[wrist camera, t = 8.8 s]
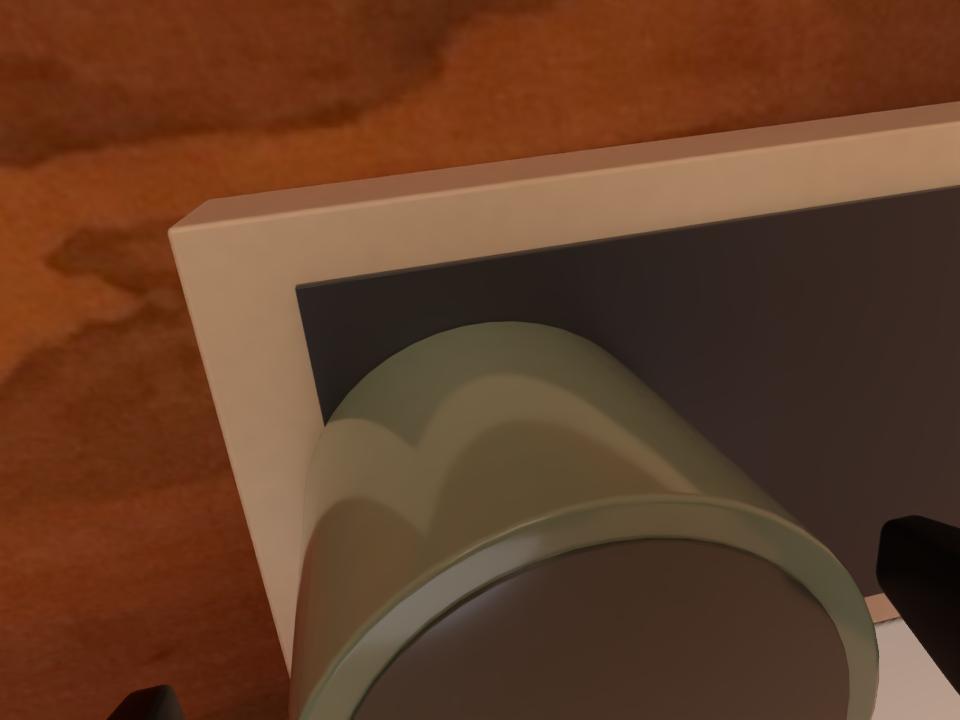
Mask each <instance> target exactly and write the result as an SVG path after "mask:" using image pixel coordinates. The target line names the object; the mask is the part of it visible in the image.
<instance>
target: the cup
mask: <svg viewBox="0 0 960 720" xmlns="http://www.w3.org/2000/svg"><path fill="white" fill-rule="evenodd" d="M878 682H879V650H878V644H877V639H876V633H875V627H874V623H873V620H872V618H871V615H870V612H869V610H868V607H867V604H866V602H865V599H864V596H863V594H862V592H861V590H860V589H859V587H858V585H857V584H856V582H855V580H854V579H853V577H852V576H851V574H850V572H849V571H848V569H847V568H846V567H845V566H844V564H843V563H842V562H841V561H840V560H839V559H838V558H837V557H836V556H835V554H834V553H833V552H832V551H831V550H830V549H829V548H828V547H827V546H826V545H825V544H824V543H823V542H822V541H821V540H820V539H818V538H817V537H816V536H815V535H814V534H813V533H812V532H811V531H809V530H808V529H807V528H806V527H805V526H804V525H803V524H802V523H801V522H799V521H798V520H797V519H796V518H795V517H794V516H793V515H792V514H791V513H789V512H788V511H787V510H786V509H785V508H784V507H783V506H782V505H780V504H779V503H778V502H777V501H776V500H775V499H774V498H773V497H772V496H770V495H769V494H768V493H767V492H766V491H765V490H764V489H763V488H762V487H760V486H759V485H758V484H757V483H756V482H755V481H754V480H753V479H752V478H750V477H749V476H748V475H747V474H746V473H745V472H744V471H743V470H741V469H740V468H739V467H738V466H737V465H736V464H735V463H734V462H733V461H731V460H730V459H729V458H728V457H727V456H726V455H725V454H724V453H723V452H721V451H720V450H719V449H718V448H717V447H716V446H715V445H714V444H712V443H711V442H710V441H709V440H708V439H707V438H706V437H705V436H704V435H702V434H701V433H700V432H699V431H698V430H697V429H696V428H695V427H694V426H692V425H691V424H690V423H689V422H688V421H687V420H686V419H685V418H684V417H682V416H681V415H680V414H679V413H678V412H677V411H676V410H675V409H673V408H672V407H671V406H670V405H669V404H668V403H667V402H666V401H665V400H663V399H662V398H661V397H660V396H659V395H658V394H657V393H656V392H655V391H653V390H652V389H651V388H650V387H649V386H648V385H647V384H646V383H645V382H643V381H642V380H641V379H640V378H639V377H638V376H637V375H636V374H634V373H633V372H632V371H631V370H630V369H629V368H628V367H627V366H626V365H624V364H623V363H622V362H621V361H620V360H618V359H617V358H616V357H614V356H613V355H612V354H611V353H609V352H608V351H607V350H606V349H604V348H602V347H600V346H599V345H597V344H595V343H593V342H592V341H590V340H588V339H586V338H584V337H581V336H579V335H576V334H574V333H571V332H569V331H566V330H564V329H559V328H555V327H551V326H547V325H542V324H536V323H526V322H516V321H509V322H486V323H480V324H474V325H468V326H462V327H458V328H455V329H451V330H448V331H445V332H441V333H438V334H435V335H433V336H430V337H428V338H426V339H423V340H421V341H419V342H416V343H414V344H412V345H410V346H408V347H407V348H405V349H403V350H402V351H400V352H398V353H396V354H395V355H393V356H391V357H390V358H388V359H387V360H385V361H384V362H383V363H381V364H380V365H379V366H378V367H376V368H375V369H374V370H372V371H371V372H370V373H368V374H367V375H366V376H365V377H364V378H363V379H362V380H361V381H360V382H359V383H358V384H357V385H356V386H355V387H354V388H353V389H352V390H351V391H350V392H349V393H348V394H347V396H346V397H345V398H344V400H343V401H342V402H341V403H340V405H339V406H338V407H337V409H336V410H335V411H334V412H333V414H332V416H331V417H330V419H329V421H328V423H327V424H326V426H325V428H324V430H323V431H322V433H321V435H320V437H319V440H318V442H317V445H316V447H315V450H314V452H313V454H312V457H311V461H310V465H309V469H308V473H307V477H306V484H305V496H304V508H303V521H302V534H301V547H300V560H299V573H298V586H297V599H296V612H295V625H294V638H293V651H292V664H291V677H290V689H289V702H288V715H287V720H871V719H872V715H873V712H874V708H875V702H876V696H877V689H878Z"/></svg>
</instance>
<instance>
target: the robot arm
mask: <svg viewBox="0 0 960 720" xmlns="http://www.w3.org/2000/svg"><path fill="white" fill-rule="evenodd" d="M876 577H877V581H878V584H879V586H880V588H881V590H882V591H883V593H884V594H885V595H886V597H887V598H888V600H889V601H890V602H891V604H892V605H893V606H894V608H895V609H896V610H897V612H898V613H899V614H900V616H901V617H902V619H903V620H904V621H905V623H906V624H907V625H908V627H909V628H910V629H911V631H912V632H913V633H914V635H915V636H916V637H917V639H918V640H919V642H920V643H921V644H922V646H923V647H924V648H925V650H926V651H927V653H928V654H929V655H930V657H931V658H932V659H933V661H934V662H935V663H936V665H937V666H938V668H939V669H940V670H941V671H942V673H943V674H944V675H945V677H946V678H947V680H948V681H949V682H950V684H951V685H952V686H953V687H954V689H955V690H956V691H957V693H959V695H960V528H958V527H955V526H951V525H948V524H945V523H942V522H939V521H935V520H932V519H929V518H926V517H923V516H919V515H909V516H905V517H900V518H896V519H892V520H889V521H887V522H885V524H884V525H883V527H882V529H881V533H880V541H879V548H878V556H877V564H876ZM106 720H185V718H184V715H183V713H182V710H181V707H180V704H179V701H178V699H177V696H176V693H175V691H174V690H173V688H172V687H171V686H169V685H159V686H155V687H151V688H146V689H142V690H137V691H135V692H132V693H131V694H129V695H128V696H127V697H126V698H125V699H124V700H123V701H122V703H121V704H120V705H119V706H118V707H117V708H116V709H115V710H114V712H113V713H112V714H111V715H110V716H109V717H108V718H107V719H106Z"/></svg>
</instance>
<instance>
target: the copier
mask: <svg viewBox="0 0 960 720" xmlns="http://www.w3.org/2000/svg"><path fill="white" fill-rule="evenodd" d="M168 238H169V241H170V245H171V248H172V252H173V256H174V259H175V263H176V267H177V270H178V274H179V278H180V281H181V285H182V288H183V292H184V296H185V299H186V303H187V307H188V310H189V314H190V318H191V321H192V325H193V328H194V332H195V336H196V339H197V343H198V347H199V350H200V354H201V358H202V361H203V365H204V368H205V372H206V376H207V379H208V383H209V387H210V390H211V394H212V398H213V401H214V405H215V408H216V412H217V416H218V419H219V423H220V427H221V430H222V434H223V438H224V441H225V445H226V448H227V452H228V456H229V459H230V463H231V467H232V470H233V474H234V478H235V481H236V485H237V488H238V492H239V496H240V499H241V503H242V507H243V510H244V514H245V518H246V521H247V525H248V528H249V532H250V536H251V539H252V543H253V547H254V550H255V554H256V558H257V561H258V565H259V568H260V572H261V576H262V579H263V583H264V587H265V590H266V594H267V597H268V601H269V605H270V608H271V612H272V616H273V619H274V623H275V627H276V630H277V634H278V637H279V641H280V645H281V648H282V652H283V656H284V659H285V663H286V667H287V670H288V674H289V677H291V664H292V651H293V638H294V625H295V612H296V599H297V586H298V573H299V560H300V547H301V534H302V521H303V508H304V496H305V484H306V477H307V473H308V469H309V465H310V461H311V457H312V454H313V452H314V450H315V447H316V445H317V442H318V440H319V437H320V435H321V433H322V431H323V430H324V428H325V426H326V424H327V423H328V421H329V419H330V417H331V416H332V414H333V412H334V411H335V410H336V409H337V407H338V406H339V405H340V403H341V402H342V401H343V400H344V398H345V397H346V396H347V394H348V393H349V392H350V391H351V390H352V389H353V388H354V387H355V386H356V385H357V384H358V383H359V382H360V381H361V380H362V379H363V378H364V377H365V376H366V375H367V374H368V373H370V372H371V371H372V370H374V369H375V368H376V367H378V366H379V365H380V364H381V363H383V362H384V361H385V360H387V359H388V358H390V357H391V356H393V355H395V354H396V353H398V352H400V351H402V350H403V349H405V348H407V347H408V346H410V345H412V344H414V343H416V342H419V341H421V340H423V339H426V338H428V337H430V336H433V335H435V334H438V333H441V332H445V331H448V330H451V329H455V328H458V327H462V326H468V325H474V324H480V323H486V322H509V321H516V322H526V323H536V324H542V325H547V326H551V327H555V328H559V329H564V330H566V331H569V332H571V333H574V334H576V335H579V336H581V337H584V338H586V339H588V340H590V341H592V342H593V343H595V344H597V345H599V346H600V347H602V348H604V349H606V350H607V351H608V352H609V353H611V354H612V355H613V356H614V357H616V358H617V359H618V360H620V361H621V362H622V363H623V364H624V365H626V366H627V367H628V368H629V369H630V370H631V371H632V372H633V373H634V374H636V375H637V376H638V377H639V378H640V379H641V380H642V381H643V382H645V383H646V384H647V385H648V386H649V387H650V388H651V389H652V390H653V391H655V392H656V393H657V394H658V395H659V396H660V397H661V398H662V399H663V400H665V401H666V402H667V403H668V404H669V405H670V406H671V407H672V408H673V409H675V410H676V411H677V412H678V413H679V414H680V415H681V416H682V417H684V418H685V419H686V420H687V421H688V422H689V423H690V424H691V425H692V426H694V427H695V428H696V429H697V430H698V431H699V432H700V433H701V434H702V435H704V436H705V437H706V438H707V439H708V440H709V441H710V442H711V443H712V444H714V445H715V446H716V447H717V448H718V449H719V450H720V451H721V452H723V453H724V454H725V455H726V456H727V457H728V458H729V459H730V460H731V461H733V462H734V463H735V464H736V465H737V466H738V467H739V468H740V469H741V470H743V471H744V472H745V473H746V474H747V475H748V476H749V477H750V478H752V479H753V480H754V481H755V482H756V483H757V484H758V485H759V486H760V487H762V488H763V489H764V490H765V491H766V492H767V493H768V494H769V495H770V496H772V497H773V498H774V499H775V500H776V501H777V502H778V503H779V504H780V505H782V506H783V507H784V508H785V509H786V510H787V511H788V512H789V513H791V514H792V515H793V516H794V517H795V518H796V519H797V520H798V521H799V522H801V523H802V524H803V525H804V526H805V527H806V528H807V529H808V530H809V531H811V532H812V533H813V534H814V535H815V536H816V537H817V538H818V539H820V540H821V541H822V542H823V543H824V544H825V545H826V546H827V547H828V548H829V549H830V550H831V551H832V552H833V553H834V554H835V556H836V557H837V558H838V559H839V560H840V561H841V562H842V563H843V564H844V566H845V567H846V568H847V569H848V571H849V572H850V574H851V576H852V577H853V579H854V580H855V582H856V584H857V585H858V587H859V589H860V590H861V592H862V594H863V596H864V599H865V602H866V604H867V607H868V610H869V612H870V615H871V618H872V620H873V623H875V622H879V621H883V620H887V619H891V618H895V617H899V616H900V614H899V613H898V612H897V610H896V609H895V608H894V606H893V605H892V604H891V602H890V601H889V600H888V598H887V597H886V595H885V594H884V593H883V591H882V590H881V588H880V586H879V584H878V581H877V577H876V564H877V556H878V548H879V541H880V533H881V529H882V527H883V525H884V524H885V522H887V521H889V520H892V519H896V518H900V517H905V516H909V515H919V516H923V517H926V518H929V519H932V520H935V521H939V522H942V523H945V524H948V525H951V526H955V527H958V528H960V101H958V102H950V103H942V104H935V105H927V106H920V107H912V108H904V109H897V110H889V111H881V112H874V113H866V114H858V115H851V116H843V117H835V118H828V119H820V120H812V121H805V122H797V123H789V124H782V125H774V126H767V127H759V128H751V129H744V130H736V131H728V132H721V133H713V134H705V135H698V136H690V137H682V138H675V139H667V140H659V141H652V142H644V143H636V144H629V145H621V146H614V147H606V148H598V149H591V150H583V151H575V152H568V153H560V154H552V155H545V156H537V157H529V158H522V159H514V160H506V161H499V162H491V163H484V164H476V165H468V166H461V167H453V168H445V169H438V170H430V171H422V172H415V173H407V174H399V175H392V176H384V177H376V178H369V179H361V180H353V181H346V182H338V183H331V184H323V185H315V186H308V187H300V188H292V189H285V190H277V191H269V192H262V193H254V194H246V195H239V196H231V197H223V198H216V199H208V200H207V201H205V202H204V203H202V204H201V205H200V206H198V207H197V208H196V209H194V210H193V211H192V212H190V213H189V214H188V215H186V216H185V217H184V218H182V219H181V220H180V221H178V222H177V223H176V224H174V225H173V226H172V227H170V228H169V229H168Z"/></svg>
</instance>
